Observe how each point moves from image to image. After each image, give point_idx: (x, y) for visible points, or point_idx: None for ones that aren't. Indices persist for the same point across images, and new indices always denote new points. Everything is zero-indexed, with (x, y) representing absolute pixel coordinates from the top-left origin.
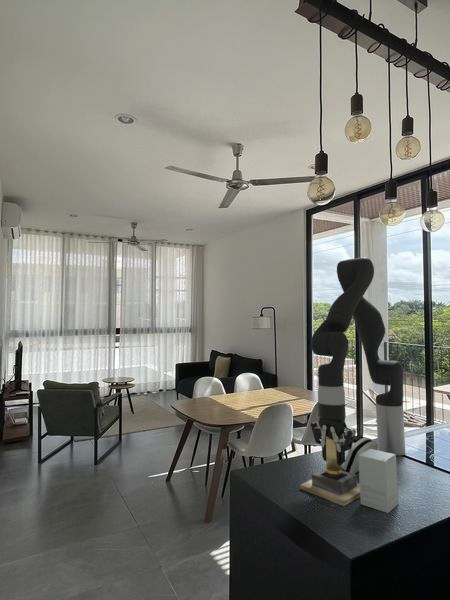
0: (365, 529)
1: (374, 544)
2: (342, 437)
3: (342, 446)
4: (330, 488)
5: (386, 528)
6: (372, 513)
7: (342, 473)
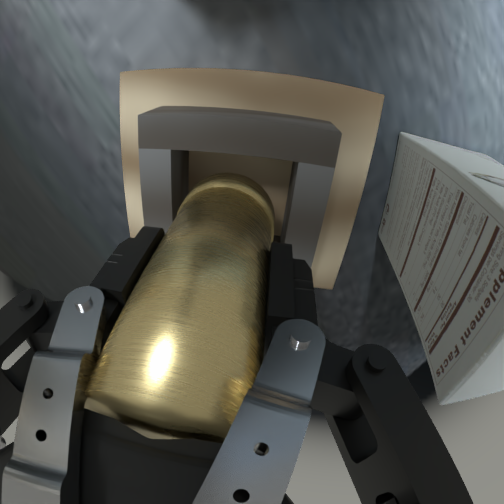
0: (403, 336)
1: (419, 360)
2: (285, 453)
3: (312, 406)
4: None
5: None
6: None
7: (256, 156)
